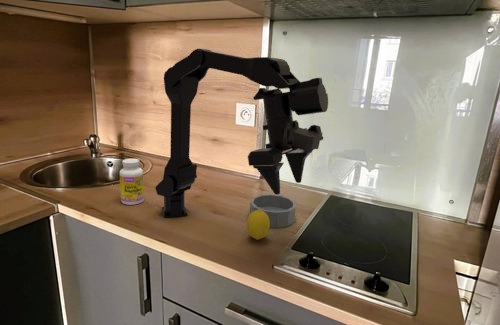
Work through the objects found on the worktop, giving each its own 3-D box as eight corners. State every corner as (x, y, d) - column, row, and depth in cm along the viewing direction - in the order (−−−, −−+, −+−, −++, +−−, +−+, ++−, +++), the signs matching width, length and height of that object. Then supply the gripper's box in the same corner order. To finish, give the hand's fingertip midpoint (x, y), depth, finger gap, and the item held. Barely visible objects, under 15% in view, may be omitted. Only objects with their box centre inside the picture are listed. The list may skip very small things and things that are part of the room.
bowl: (244, 210, 95) (244, 196, 94) (282, 206, 99) (283, 192, 98) (259, 230, 83) (260, 214, 82) (302, 224, 88) (304, 209, 87)
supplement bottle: (121, 206, 93) (118, 164, 90) (120, 198, 99) (117, 158, 96) (145, 204, 96) (143, 162, 92) (143, 196, 102) (141, 156, 98)
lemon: (255, 232, 82) (257, 203, 80) (273, 239, 79) (275, 209, 77) (241, 239, 78) (242, 209, 76) (259, 248, 75) (261, 216, 73)
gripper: (289, 119, 57) (300, 203, 59) (332, 109, 71) (339, 177, 73) (240, 125, 64) (252, 200, 66) (289, 115, 78) (297, 177, 80)
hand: (288, 188), depth 71 cm, fingers open, 9 cm apart
